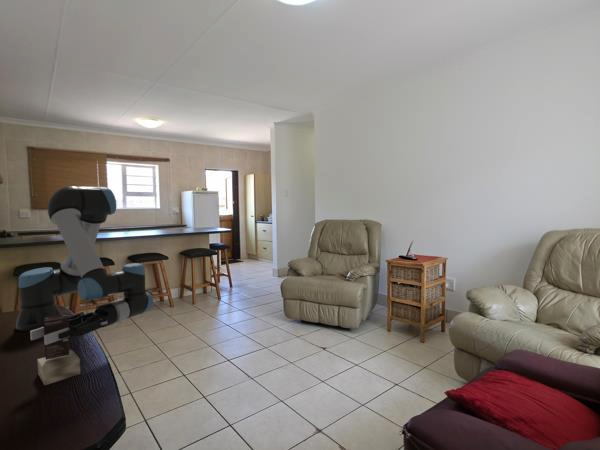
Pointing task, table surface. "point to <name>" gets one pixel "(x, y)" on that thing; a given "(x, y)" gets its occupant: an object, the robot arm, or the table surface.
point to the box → (62, 345)
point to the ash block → (58, 368)
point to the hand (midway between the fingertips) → (38, 337)
